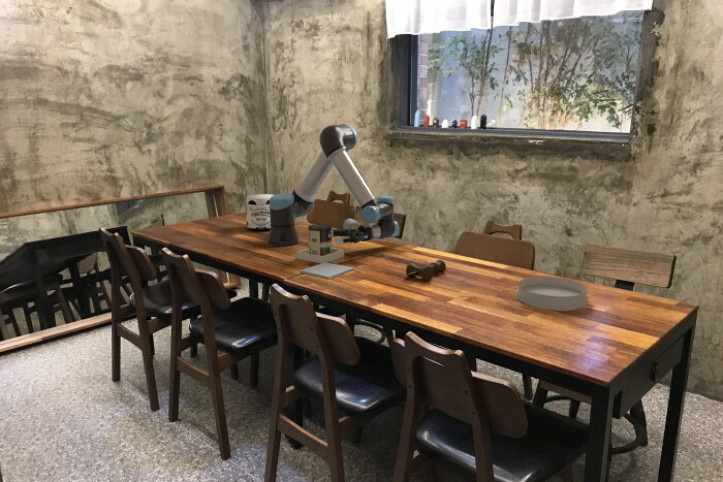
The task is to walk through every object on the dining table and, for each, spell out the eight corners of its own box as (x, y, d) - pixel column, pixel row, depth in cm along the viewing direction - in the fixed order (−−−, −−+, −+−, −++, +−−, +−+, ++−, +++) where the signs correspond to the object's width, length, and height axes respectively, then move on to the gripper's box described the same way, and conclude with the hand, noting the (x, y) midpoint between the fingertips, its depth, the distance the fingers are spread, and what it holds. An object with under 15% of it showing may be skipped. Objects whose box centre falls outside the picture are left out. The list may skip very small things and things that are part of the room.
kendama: (451, 275, 214) (417, 285, 200) (432, 271, 221) (398, 280, 207) (451, 260, 213) (418, 269, 199) (432, 256, 219) (398, 264, 206)
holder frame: (297, 258, 237) (296, 251, 237) (319, 251, 249) (319, 245, 248) (322, 263, 229) (322, 257, 228) (344, 256, 240) (344, 249, 239)
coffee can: (333, 254, 244) (332, 223, 240) (331, 260, 234) (330, 228, 230) (310, 254, 244) (309, 223, 241) (307, 260, 234) (306, 228, 231)
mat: (300, 272, 217) (300, 270, 217) (325, 263, 229) (325, 262, 229) (329, 278, 208) (329, 276, 208) (353, 269, 220) (353, 267, 220)
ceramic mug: (349, 236, 279) (349, 221, 277) (342, 233, 286) (342, 218, 284) (367, 234, 283) (367, 220, 282) (360, 231, 290) (360, 217, 289)
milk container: (257, 233, 287) (255, 199, 283) (240, 228, 299) (238, 196, 295) (285, 228, 298) (283, 196, 294) (267, 224, 311) (266, 192, 306)
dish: (532, 285, 199) (533, 272, 198) (595, 298, 186) (596, 284, 185) (506, 301, 183) (506, 287, 182) (573, 316, 169) (574, 301, 168)
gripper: (384, 245, 240) (342, 252, 229) (353, 235, 260) (314, 241, 249) (384, 229, 238) (342, 235, 227) (353, 219, 259) (314, 225, 247)
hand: (327, 238), depth 238 cm, fingers open, 13 cm apart
